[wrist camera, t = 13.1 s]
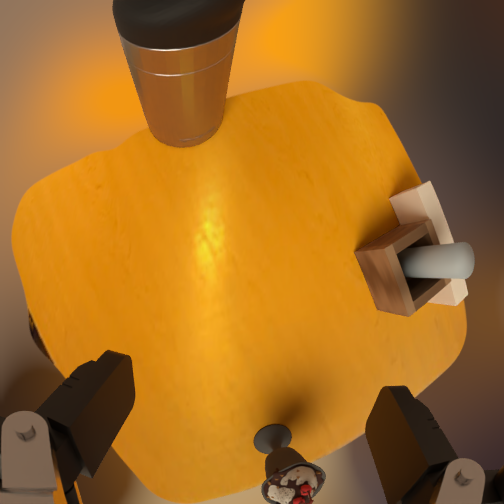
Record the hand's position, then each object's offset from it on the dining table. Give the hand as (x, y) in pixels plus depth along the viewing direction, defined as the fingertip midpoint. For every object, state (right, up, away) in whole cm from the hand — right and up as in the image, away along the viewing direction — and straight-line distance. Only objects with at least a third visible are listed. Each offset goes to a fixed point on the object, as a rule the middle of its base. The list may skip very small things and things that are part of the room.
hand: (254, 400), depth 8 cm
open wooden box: (+18, +3, +27) cm, 33 cm away
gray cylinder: (+19, +3, +27) cm, 33 cm away
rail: (+23, +5, +28) cm, 37 cm away
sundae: (+3, -19, +24) cm, 31 cm away
